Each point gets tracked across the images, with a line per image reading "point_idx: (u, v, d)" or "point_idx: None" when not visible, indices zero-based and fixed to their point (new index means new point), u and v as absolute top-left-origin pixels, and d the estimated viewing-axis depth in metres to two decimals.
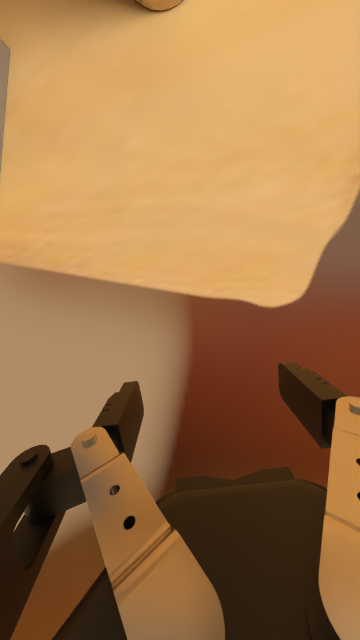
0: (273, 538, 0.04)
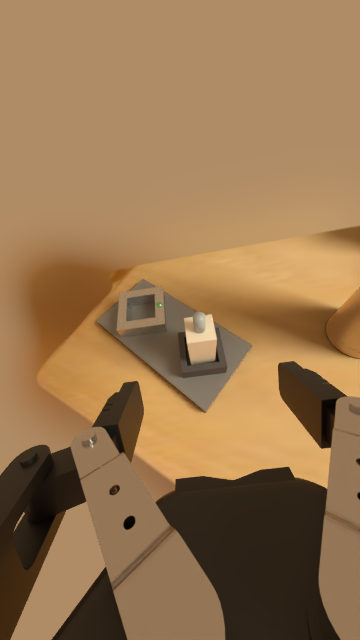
0: (273, 538, 0.04)
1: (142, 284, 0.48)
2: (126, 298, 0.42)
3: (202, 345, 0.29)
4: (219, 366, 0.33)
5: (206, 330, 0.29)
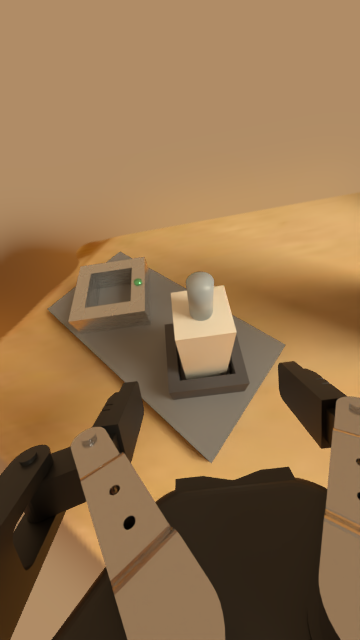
0: (273, 538, 0.04)
1: (118, 258, 0.34)
2: (89, 274, 0.28)
3: (206, 344, 0.15)
4: (235, 382, 0.19)
5: (214, 315, 0.14)
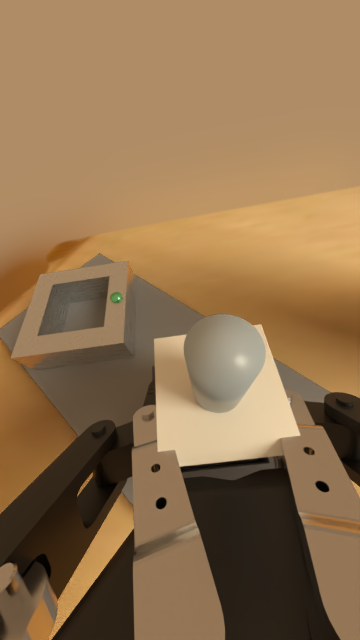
0: (273, 538, 0.04)
1: (97, 262, 0.26)
2: (51, 285, 0.20)
3: None
4: None
5: (248, 398, 0.06)
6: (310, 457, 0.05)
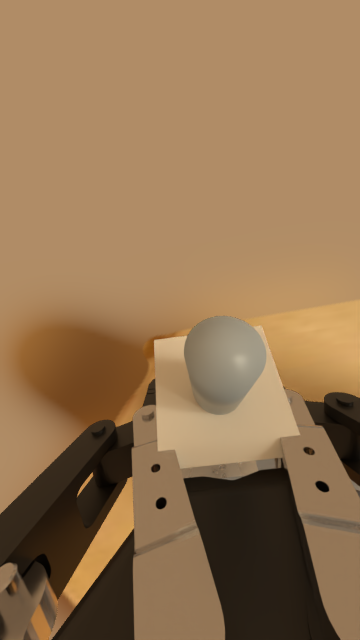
0: (273, 538, 0.04)
1: None
2: None
3: None
4: None
5: (248, 399, 0.06)
6: (310, 458, 0.05)
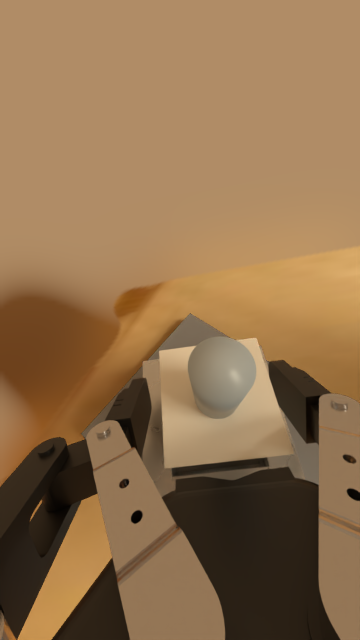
0: (273, 538, 0.04)
1: (190, 327, 0.21)
2: None
3: None
4: None
5: (243, 405, 0.07)
6: (350, 465, 0.05)
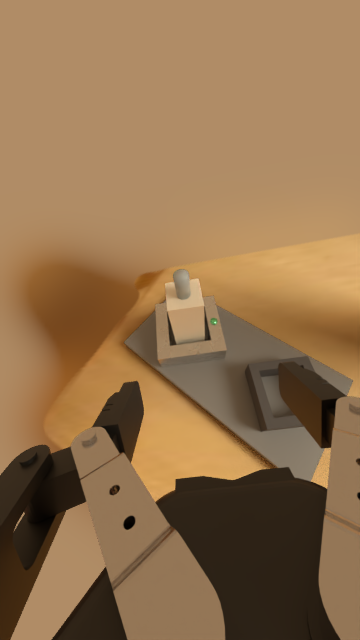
0: (273, 538, 0.04)
1: None
2: (165, 312, 0.31)
3: (187, 315, 0.24)
4: None
5: (191, 296, 0.23)
6: None
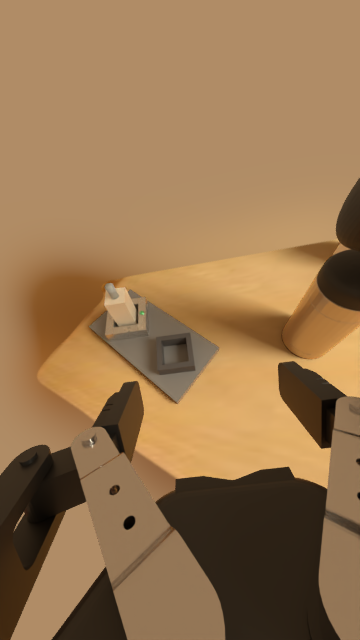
0: (273, 538, 0.04)
1: (129, 294, 0.55)
2: None
3: (116, 308, 0.42)
4: (188, 365, 0.40)
5: (118, 297, 0.41)
6: None
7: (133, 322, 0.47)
